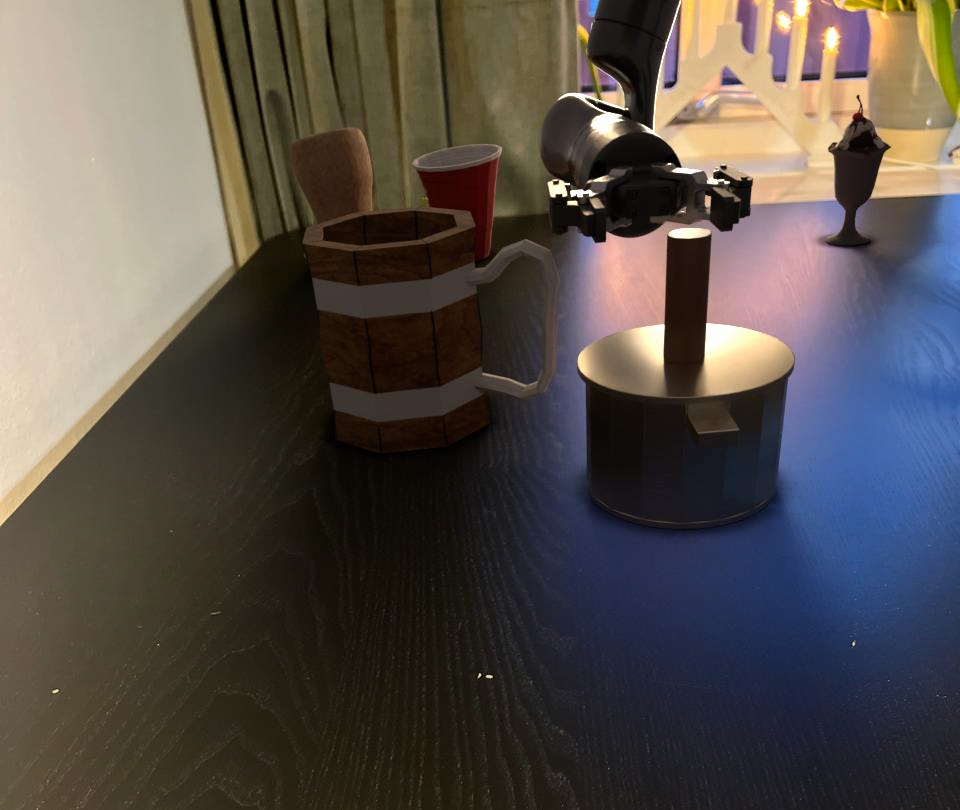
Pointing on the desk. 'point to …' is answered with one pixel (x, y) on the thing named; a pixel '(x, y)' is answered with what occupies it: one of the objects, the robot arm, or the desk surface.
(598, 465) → the pot
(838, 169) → the sundae
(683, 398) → the lid
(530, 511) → the desk surface
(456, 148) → the plastic cup
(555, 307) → the mug
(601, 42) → the robot arm
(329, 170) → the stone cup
